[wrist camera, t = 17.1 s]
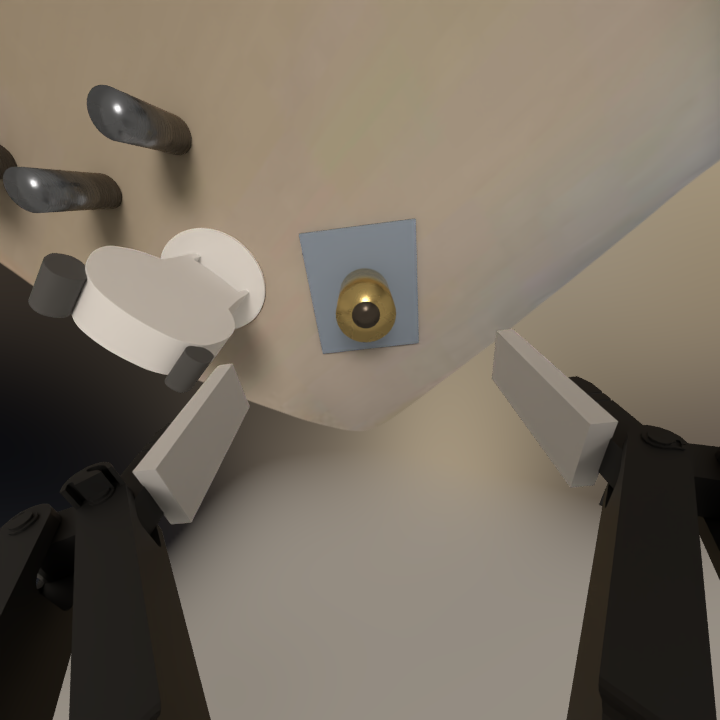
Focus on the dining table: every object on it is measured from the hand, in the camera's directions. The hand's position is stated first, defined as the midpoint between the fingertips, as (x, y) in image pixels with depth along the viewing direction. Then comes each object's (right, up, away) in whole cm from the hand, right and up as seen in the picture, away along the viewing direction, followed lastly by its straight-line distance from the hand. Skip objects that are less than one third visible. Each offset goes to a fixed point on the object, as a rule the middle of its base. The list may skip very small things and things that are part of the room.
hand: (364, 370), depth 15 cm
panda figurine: (-17, +10, +19) cm, 27 cm away
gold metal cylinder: (0, +8, +19) cm, 20 cm away
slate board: (0, +8, +19) cm, 21 cm away
